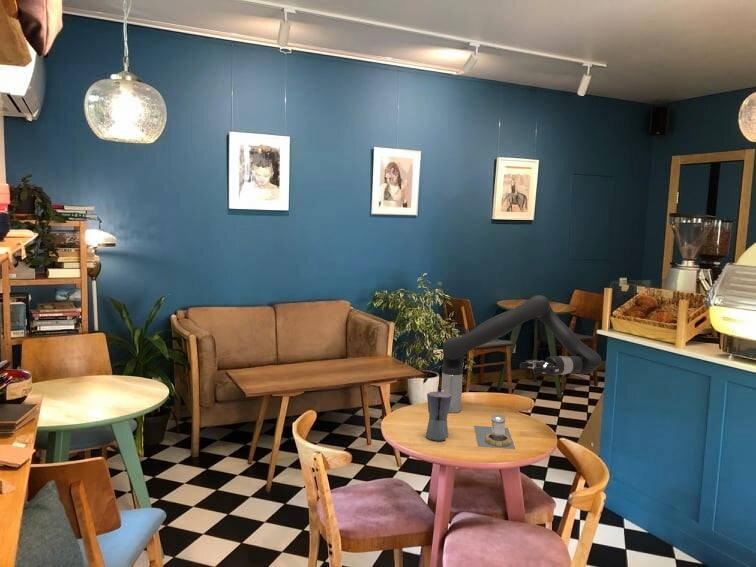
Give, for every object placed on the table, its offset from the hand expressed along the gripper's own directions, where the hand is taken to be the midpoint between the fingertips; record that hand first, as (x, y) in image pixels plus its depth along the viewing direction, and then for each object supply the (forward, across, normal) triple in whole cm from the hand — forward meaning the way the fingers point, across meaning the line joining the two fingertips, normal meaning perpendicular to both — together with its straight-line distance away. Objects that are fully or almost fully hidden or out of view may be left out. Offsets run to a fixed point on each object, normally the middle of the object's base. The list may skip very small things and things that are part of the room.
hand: (527, 368), depth 236 cm
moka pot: (+34, -9, +28) cm, 45 cm away
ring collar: (+16, +5, +27) cm, 32 cm away
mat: (+14, -1, +28) cm, 31 cm away
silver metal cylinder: (+16, +5, +27) cm, 32 cm away
